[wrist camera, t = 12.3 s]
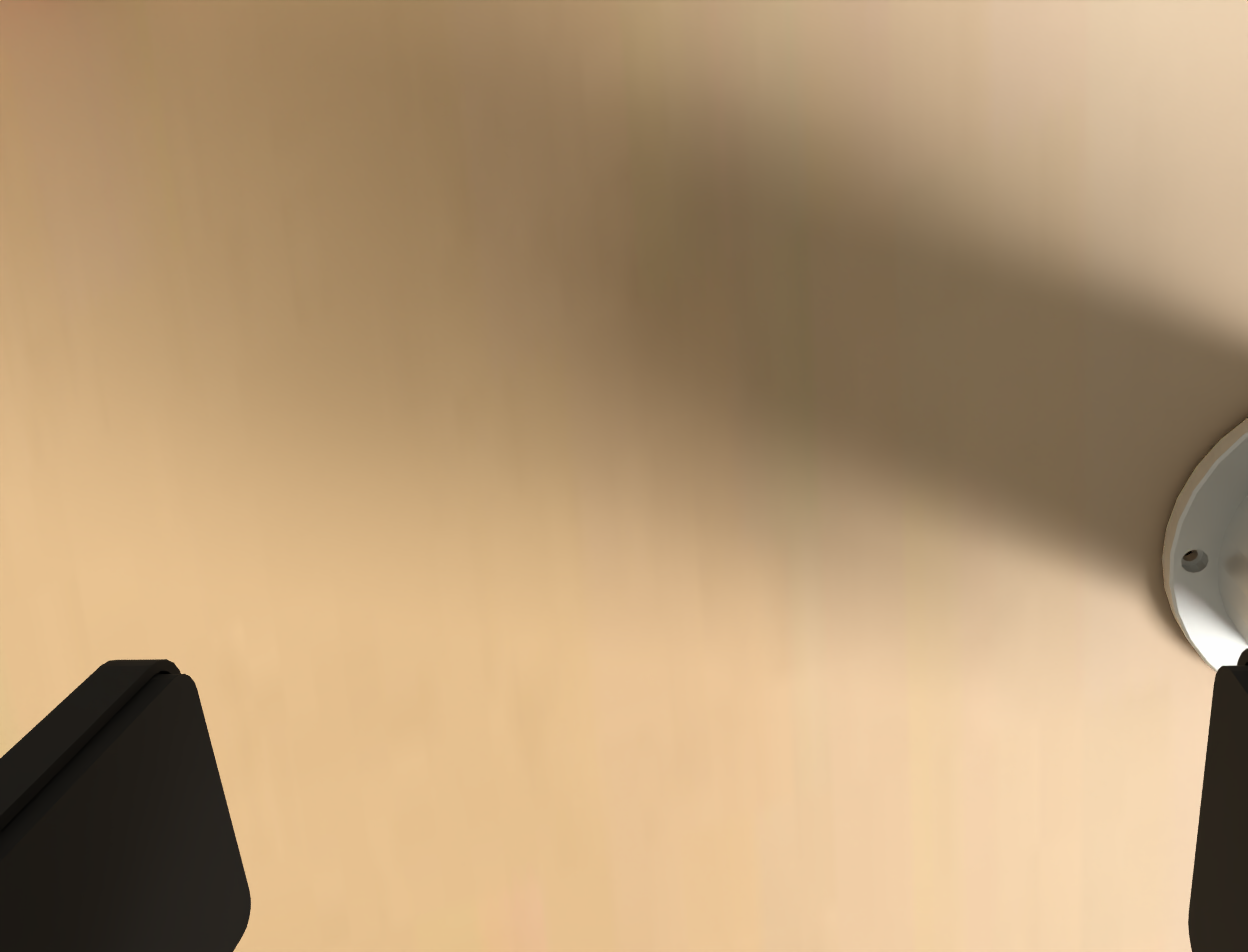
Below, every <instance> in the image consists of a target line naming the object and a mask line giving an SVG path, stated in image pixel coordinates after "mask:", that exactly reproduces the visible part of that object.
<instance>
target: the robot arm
mask: <svg viewBox="0 0 1248 952" xmlns="http://www.w3.org/2000/svg"><path fill="white" fill-rule="evenodd" d="M1192 550H1193V552H1192V553H1191V554H1190V555H1187V556H1184V555H1185V554H1186V553H1187V552H1189V551H1192ZM1162 565H1163V577H1164V588H1165V592H1166V595H1167V598H1168V601H1169V604H1170V607H1171V610H1172V613H1173V616H1174V618H1175V619H1176V621H1177V623H1178V624H1179V626H1180V628H1181V630H1182V631H1183V633H1184V635H1185V636H1186V638H1187V640H1188V641H1189V642H1190V644H1191V645H1192V646H1193V648H1194V649H1195V650H1196V651H1197V653H1198V654H1199V655H1200V657H1201V658H1202V659H1203V661H1204V662H1205V663H1206V664H1207V665H1208V666H1209V667H1211V668H1212V669H1213V670H1214V671H1215V672H1217V673H1216V677H1215V682H1214V689H1213V698H1212V708H1211V717H1210V726H1209V735H1208V744H1207V753H1206V762H1205V771H1204V780H1203V789H1202V798H1201V807H1200V816H1199V825H1198V834H1197V844H1196V853H1195V862H1194V871H1193V880H1192V889H1191V898H1190V907H1189V920H1188V925H1189V936H1190V943H1191V948H1192V952H1248V418H1246V419H1245V420H1244V421H1243V422H1241V423H1240V424H1239V425H1238V426H1237V427H1235V428H1234V429H1233V430H1232V431H1230V432H1229V433H1228V434H1227V435H1225V436H1224V437H1223V438H1222V439H1220V440H1219V442H1218V443H1217V444H1216V445H1215V446H1214V447H1213V448H1212V449H1211V451H1210V452H1209V453H1208V454H1207V455H1206V456H1205V457H1204V458H1203V460H1202V461H1201V462H1200V463H1199V464H1198V465H1197V466H1196V468H1195V469H1194V471H1193V473H1192V474H1191V476H1190V477H1189V479H1188V481H1187V482H1186V484H1185V486H1184V487H1183V489H1182V491H1181V492H1180V494H1179V496H1178V497H1177V500H1176V503H1175V506H1174V508H1173V511H1172V514H1171V516H1170V519H1169V522H1168V525H1167V527H1166V534H1165V541H1164V548H1163V555H1162ZM250 909H251V898H250V891H249V887H248V883H247V879H246V876H245V872H244V868H243V864H242V860H241V856H240V852H239V849H238V845H237V841H236V837H235V833H234V829H233V825H232V822H231V818H230V814H229V810H228V806H227V802H226V799H225V795H224V791H223V787H222V783H221V779H220V775H219V772H218V768H217V764H216V760H215V756H214V752H213V749H212V745H211V741H210V737H209V733H208V729H207V725H206V722H205V718H204V714H203V710H202V706H201V702H200V698H199V695H198V691H197V688H196V685H195V683H194V681H193V680H192V678H191V677H190V676H188V675H186V674H181V673H180V670H179V669H178V668H177V666H176V665H175V664H174V663H173V662H171V661H169V660H167V659H164V660H112V661H108V662H106V663H105V664H103V665H101V666H100V667H99V668H98V669H97V670H96V671H95V672H94V673H93V674H91V675H90V676H89V677H88V678H87V679H86V680H85V681H84V682H83V683H82V684H81V685H80V686H78V687H77V688H76V689H75V690H74V691H73V692H72V693H71V694H70V695H69V696H68V697H67V698H65V699H64V700H63V701H62V702H61V703H60V704H59V705H58V706H57V707H56V708H55V709H54V710H52V711H51V712H50V713H49V714H48V715H47V716H46V717H45V718H44V719H43V720H42V721H41V722H39V723H38V724H37V725H36V726H35V727H34V728H33V729H32V730H31V731H30V732H29V733H28V734H26V735H25V736H24V737H23V738H22V739H21V740H20V741H19V742H18V743H17V744H16V745H15V746H13V747H12V748H11V749H10V750H9V751H8V752H7V753H6V754H5V755H4V756H3V757H2V758H0V952H233V951H234V949H235V948H236V946H237V944H238V943H239V941H240V939H241V938H242V936H243V934H244V932H245V930H246V927H247V924H248V920H249V916H250Z"/></svg>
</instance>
